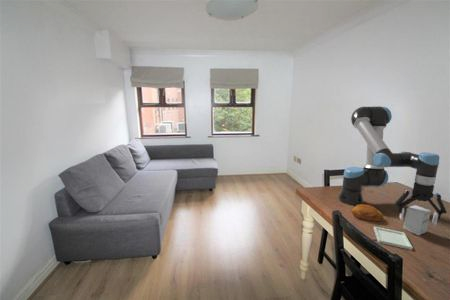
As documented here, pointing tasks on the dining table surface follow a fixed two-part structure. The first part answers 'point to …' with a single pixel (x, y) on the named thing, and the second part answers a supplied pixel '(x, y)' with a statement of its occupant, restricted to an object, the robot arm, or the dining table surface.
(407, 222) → the supplement box
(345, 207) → the dining table surface
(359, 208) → the croissant
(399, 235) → the pale green square tray
